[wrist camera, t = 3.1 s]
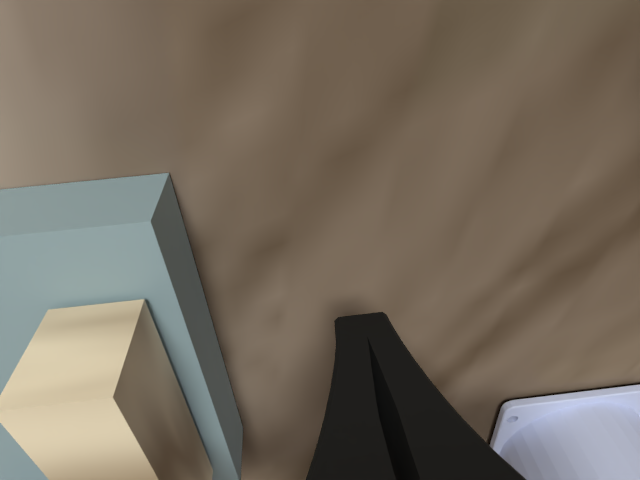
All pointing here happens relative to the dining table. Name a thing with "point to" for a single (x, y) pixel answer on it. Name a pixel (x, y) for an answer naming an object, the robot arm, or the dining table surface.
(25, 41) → the dining table surface
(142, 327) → the folding leg
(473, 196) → the dining table surface
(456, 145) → the dining table surface
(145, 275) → the blue-grey block
